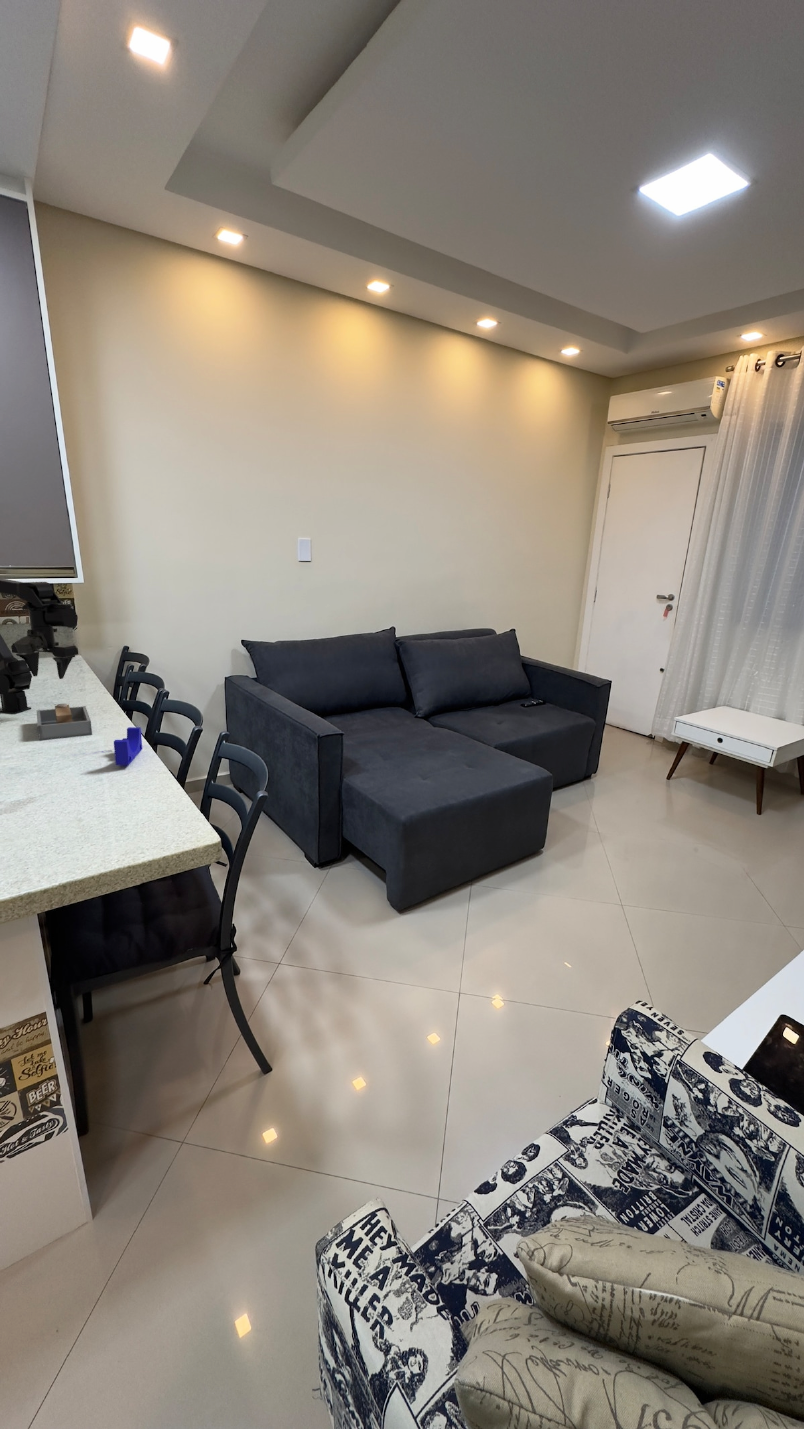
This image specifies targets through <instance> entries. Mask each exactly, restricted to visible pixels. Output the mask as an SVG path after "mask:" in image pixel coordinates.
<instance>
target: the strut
mask: <svg viewBox="0 0 804 1429" xmlns="http://www.w3.org/2000/svg"><path fill="white" fill-rule="evenodd" d="M54 709H55V713H56V721H57V724H58V723H68V722H72V714H71V711H70V705H69V704H68V703H58V704H56V705H54Z"/></svg>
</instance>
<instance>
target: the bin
mask: <svg viewBox="0 0 804 1429" xmlns="http://www.w3.org/2000/svg"><path fill="white" fill-rule="evenodd" d="M69 707H70V706H69ZM70 711H71V714H72V722H68V723H58V724H57V721H56V713H55V708H49V709H39V710H36V720H37V731H38V732H37V733H38V739H39V741H47V740H48V741H49V740H55V739H56V740H57V739H68V738H75V737H76V738H77V737H82V736H83V737H84V736H86V737H87V736H91V735H93V729H92V728H93V727H92V720H91V718H90V715H89V712H88V709H87V707H86V705H82V706H72V707H70Z"/></svg>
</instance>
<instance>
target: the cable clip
mask: <svg viewBox="0 0 804 1429" xmlns="http://www.w3.org/2000/svg"><path fill="white" fill-rule="evenodd" d="M142 738H143V737H142V727H139V726H137V727H136V726H135V727H130V726H129V727H127V728H126V737H125V738H122V739H115V740H114V741H113V746H114V747H113V748H114V750H113V751H114V761H115V765H116V766H129V765H131V763H132V761H134V760H135V758H137V756H138V755H139V754H140V752H141V751H143V739H142Z"/></svg>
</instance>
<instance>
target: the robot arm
mask: <svg viewBox="0 0 804 1429" xmlns="http://www.w3.org/2000/svg"><path fill="white" fill-rule="evenodd" d="M0 593H2V594H6V595H13V596H15V597H18V598H19V599H20V600H22V601H25V602H26V603H24V604H23V605H22V606H21V610H28V615H29V616H28V617H29V623H30V624H29V625H30V628H29V629H27V631H26V634H27V635H26V636H22V638H20V639H18V640H16V641H15V642H13V643H12V644H11V647H10V648H9V646H8V645H7V643H6V641H5V639H4V638H3V636H2V634H1V633H0V705H1V709H0V713H5V714H14V715H15V714H18V713H21V712H25V711H28V710H31V709H32V706H28V700H27V699H28V698H27V696H26V692H25V691H27V690H30V687H31V682H32V678H33V677H38V676H39V675H38V673H39V662H40V661H39V659H40V653H49V654H50V653H51V654H52V655H53V657H52V659H53V661H54V662H55V663H56V668H57V670H56V671H57V675H58V678H59V679H58V680H62V679H64V678H65V675H66V672H67V670H68V667H69V666H70V663H71V661H72V660H73V658H76V656H78V655H79V649H78V647H77V646H76V645H75V644H74V645H73V644H59V643H60V642H58V641H56V640H55V639H56V638H55V633H58V628H67V629H69V628H70V629H71V628H74V627H76V625H77V623H78V621H79V620H78V619H79V617H78V614H77V612H76V611H75V609H73V608H72V605H71V603H63V602H62V600H61V599H60V596H58V594H57V593H56V592H55V590H54V589H53V587H52V586H51V583H49V582H47V581H28V582H27V581H26V582H23V581H20V580H19V581H18V580H12V579H6V578H1V577H0ZM57 627H58V628H57ZM13 654H15V656H17V657H20V658H21V659H18V658H16V657H15V656H14V655H13Z"/></svg>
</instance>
